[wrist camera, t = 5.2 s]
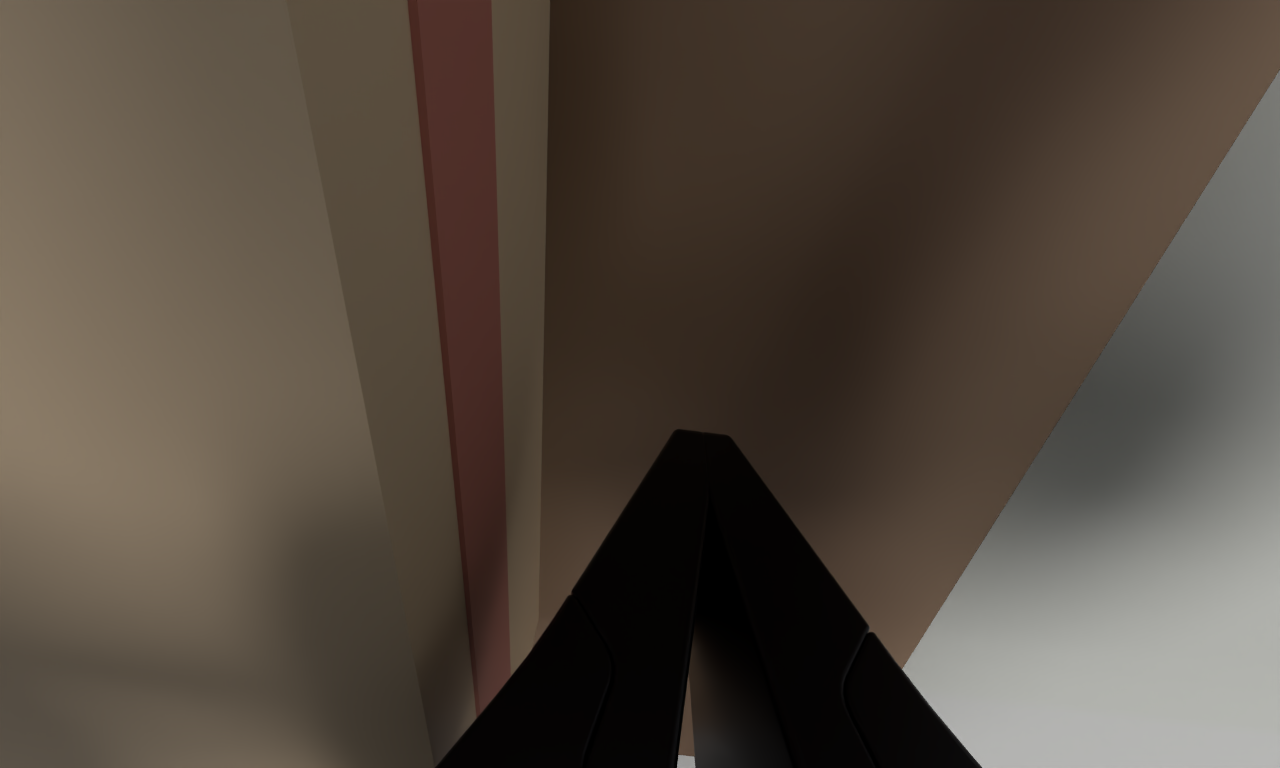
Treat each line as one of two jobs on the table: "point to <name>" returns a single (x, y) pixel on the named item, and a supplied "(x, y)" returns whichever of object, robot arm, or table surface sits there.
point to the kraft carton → (267, 377)
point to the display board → (859, 252)
